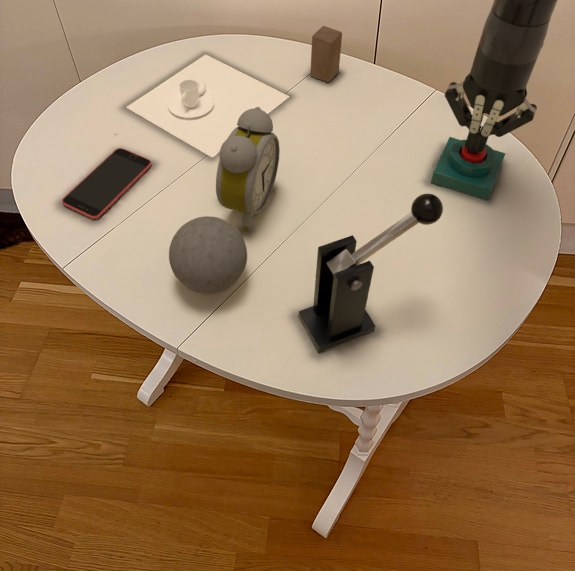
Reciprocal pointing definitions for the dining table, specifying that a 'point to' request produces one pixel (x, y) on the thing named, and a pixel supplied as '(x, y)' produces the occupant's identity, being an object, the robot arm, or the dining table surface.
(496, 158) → the button block
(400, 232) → the lever
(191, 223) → the decorative ball
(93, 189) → the smartphone
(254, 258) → the dining table surface
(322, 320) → the bracket
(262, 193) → the alarm clock
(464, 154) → the button
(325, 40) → the wooden block
